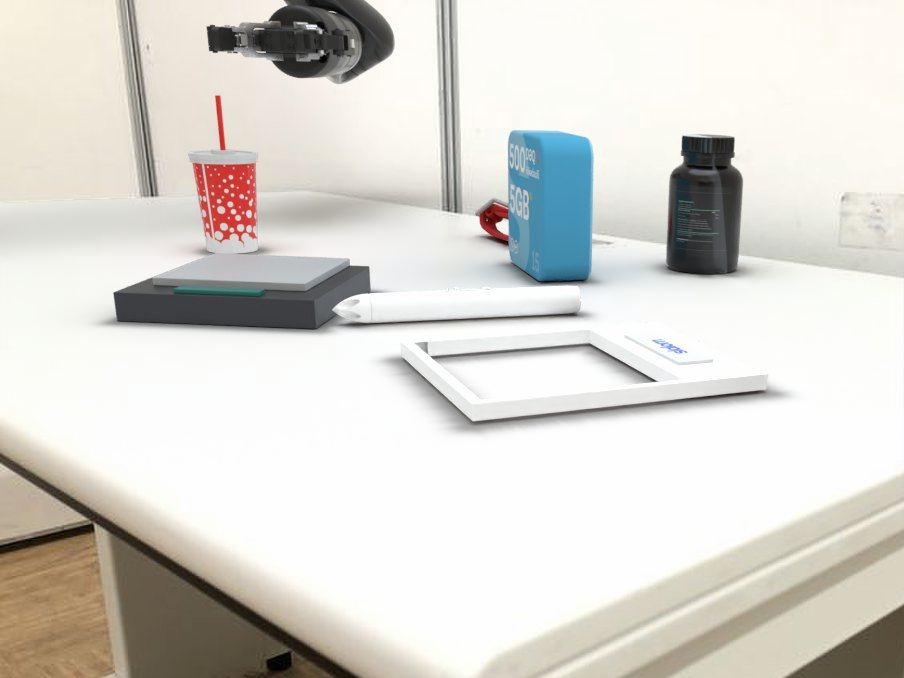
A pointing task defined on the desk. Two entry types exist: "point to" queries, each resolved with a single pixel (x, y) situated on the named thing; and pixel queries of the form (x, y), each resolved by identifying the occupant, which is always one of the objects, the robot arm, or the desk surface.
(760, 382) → the photo frame
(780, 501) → the desk surface
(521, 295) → the marker
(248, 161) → the beverage cup
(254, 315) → the scale
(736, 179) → the supplement bottle
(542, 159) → the data package
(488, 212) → the tracker holder
